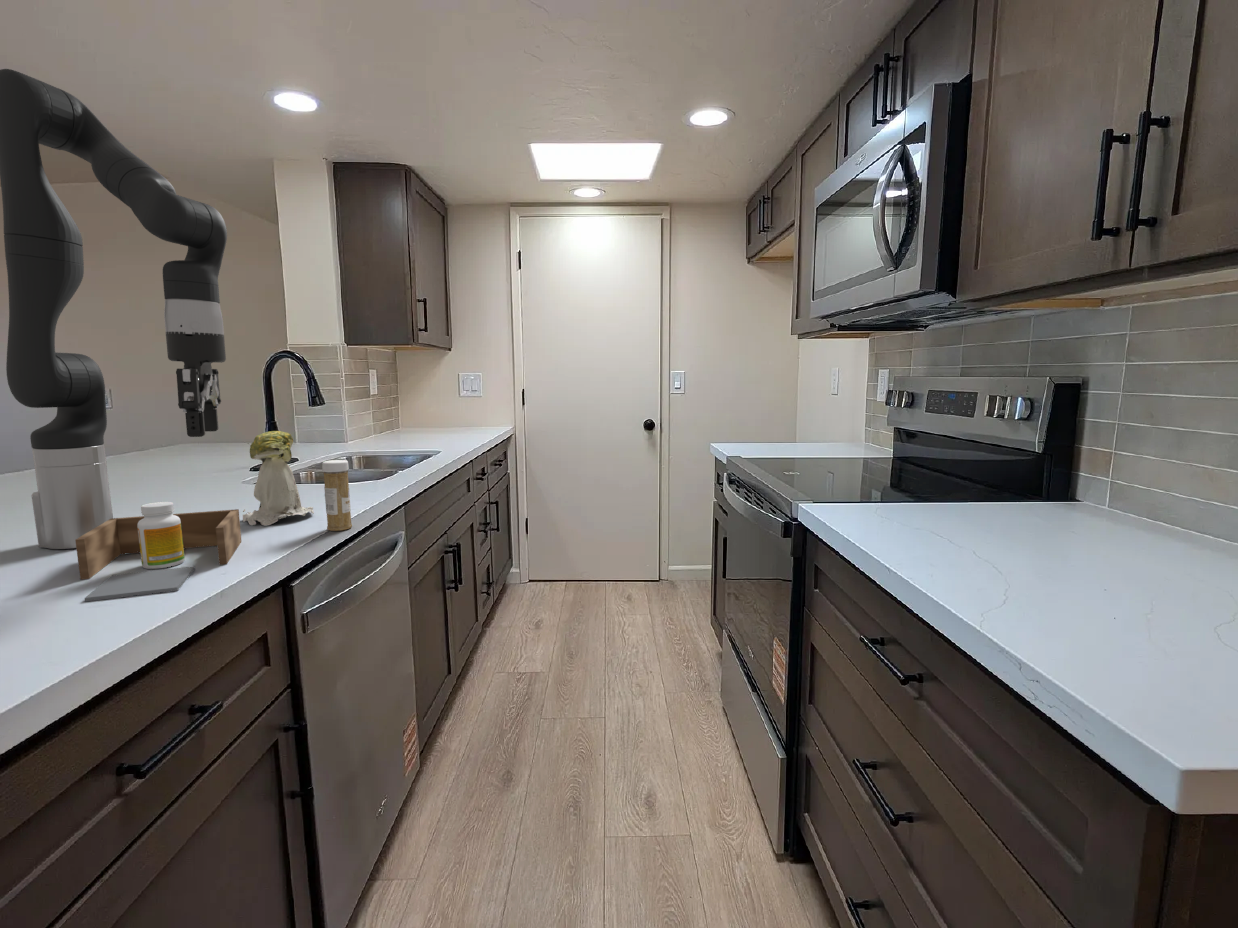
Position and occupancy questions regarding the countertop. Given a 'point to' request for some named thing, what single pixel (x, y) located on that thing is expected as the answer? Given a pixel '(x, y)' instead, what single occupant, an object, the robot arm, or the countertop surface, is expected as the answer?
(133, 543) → the open box
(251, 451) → the yellow capped ghost figurine
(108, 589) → the grey mat
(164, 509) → the supplement bottle
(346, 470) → the sprinkles bottle
